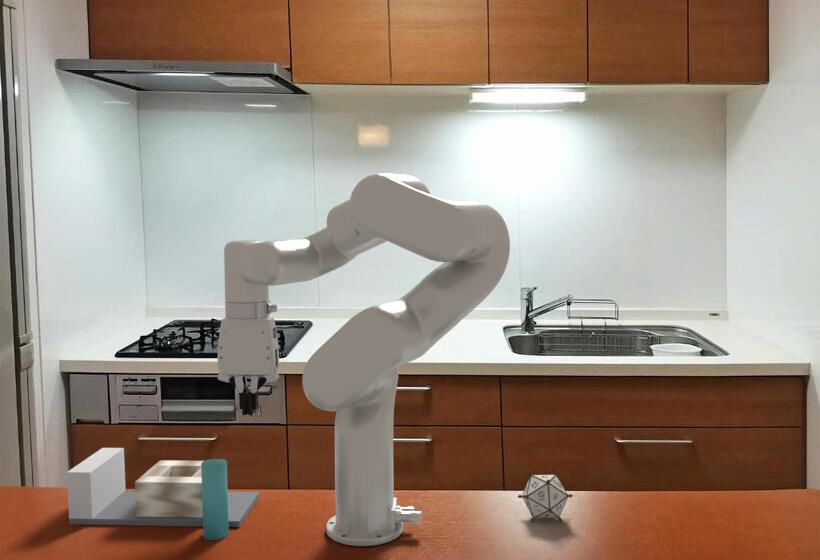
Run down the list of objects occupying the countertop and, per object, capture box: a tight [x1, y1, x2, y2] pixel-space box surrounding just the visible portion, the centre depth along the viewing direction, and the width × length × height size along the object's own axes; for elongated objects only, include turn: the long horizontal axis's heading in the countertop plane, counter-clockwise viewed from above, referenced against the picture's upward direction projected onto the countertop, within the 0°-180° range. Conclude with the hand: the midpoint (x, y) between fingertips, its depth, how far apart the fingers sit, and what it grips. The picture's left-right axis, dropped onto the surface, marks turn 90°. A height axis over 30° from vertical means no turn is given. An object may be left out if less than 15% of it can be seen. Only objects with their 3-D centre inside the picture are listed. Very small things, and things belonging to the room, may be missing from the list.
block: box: [134, 459, 204, 518], centre depth 131 cm, size 12×11×6 cm
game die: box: [517, 470, 574, 523], centre depth 127 cm, size 9×8×10 cm
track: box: [66, 447, 260, 528], centre depth 131 cm, size 29×13×9 cm, turn 87°
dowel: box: [201, 458, 230, 541], centre depth 121 cm, size 4×4×12 cm
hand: (249, 413), depth 133 cm, fingers closed
